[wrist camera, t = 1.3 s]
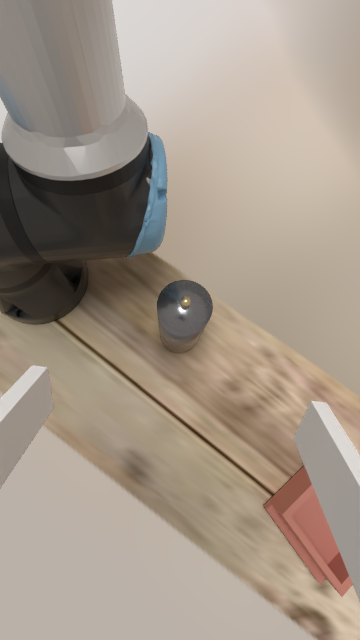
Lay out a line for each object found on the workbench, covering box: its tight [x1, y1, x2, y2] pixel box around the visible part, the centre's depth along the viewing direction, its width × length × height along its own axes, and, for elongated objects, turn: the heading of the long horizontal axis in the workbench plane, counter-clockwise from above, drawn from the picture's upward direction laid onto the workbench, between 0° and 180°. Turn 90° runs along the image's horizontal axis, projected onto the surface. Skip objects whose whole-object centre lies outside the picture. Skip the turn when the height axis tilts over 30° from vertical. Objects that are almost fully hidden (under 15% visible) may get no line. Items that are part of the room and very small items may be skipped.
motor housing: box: [157, 280, 213, 353], centre depth 33 cm, size 6×6×16 cm
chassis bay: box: [264, 466, 353, 596], centre depth 32 cm, size 10×12×4 cm
